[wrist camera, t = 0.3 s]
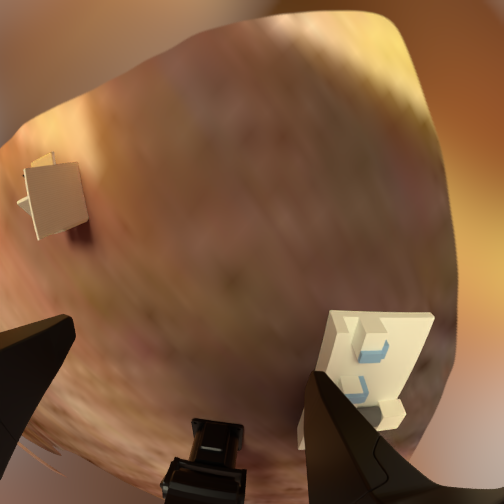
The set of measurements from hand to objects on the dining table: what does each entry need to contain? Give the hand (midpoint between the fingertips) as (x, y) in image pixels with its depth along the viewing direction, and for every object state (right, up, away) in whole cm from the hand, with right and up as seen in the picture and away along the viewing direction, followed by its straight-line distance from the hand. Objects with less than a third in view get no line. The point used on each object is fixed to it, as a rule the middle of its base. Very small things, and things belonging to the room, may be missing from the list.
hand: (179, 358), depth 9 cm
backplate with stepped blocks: (+14, -10, +18) cm, 25 cm away
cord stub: (+15, -15, +18) cm, 27 cm away
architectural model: (-14, +9, +14) cm, 22 cm away
